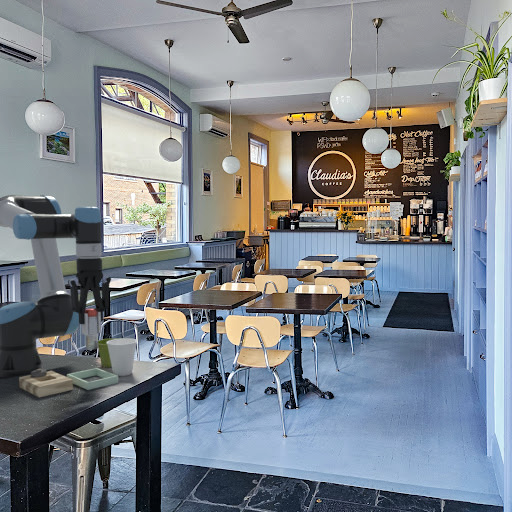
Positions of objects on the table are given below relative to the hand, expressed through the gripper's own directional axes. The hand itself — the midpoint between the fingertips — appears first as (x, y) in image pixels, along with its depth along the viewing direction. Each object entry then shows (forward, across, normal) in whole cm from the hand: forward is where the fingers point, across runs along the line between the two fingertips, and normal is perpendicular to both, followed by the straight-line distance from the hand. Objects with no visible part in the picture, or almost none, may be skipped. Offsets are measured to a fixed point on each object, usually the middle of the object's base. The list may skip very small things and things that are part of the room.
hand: (91, 333), depth 167 cm
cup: (+16, +13, +4) cm, 21 cm away
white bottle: (+5, 0, 0) cm, 5 cm away
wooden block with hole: (+16, -13, +4) cm, 21 cm away
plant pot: (+16, +16, +17) cm, 29 cm away
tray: (+16, 0, 0) cm, 16 cm away
